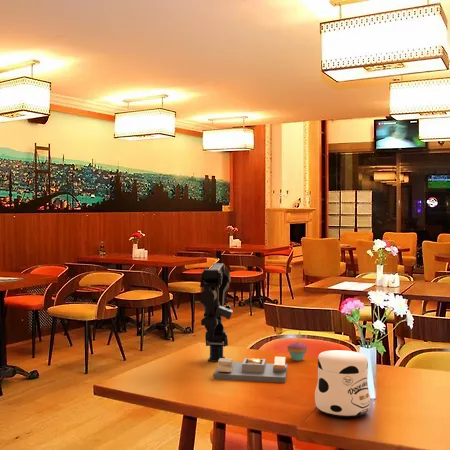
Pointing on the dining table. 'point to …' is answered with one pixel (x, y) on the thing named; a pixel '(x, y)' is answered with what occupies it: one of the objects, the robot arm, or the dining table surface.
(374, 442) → the dining table surface
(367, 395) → the milk container
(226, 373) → the panel
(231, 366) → the tan rectangular prism
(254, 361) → the button
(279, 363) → the rocker
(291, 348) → the cupcake
